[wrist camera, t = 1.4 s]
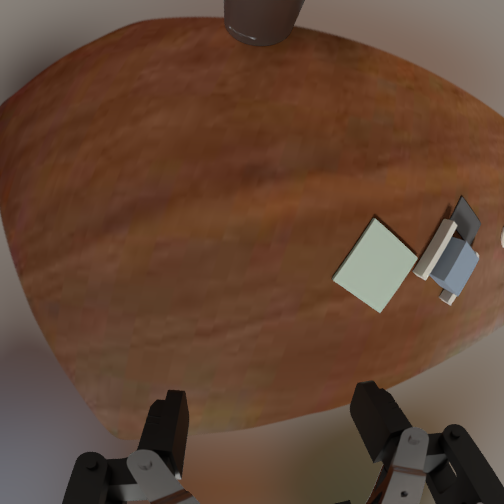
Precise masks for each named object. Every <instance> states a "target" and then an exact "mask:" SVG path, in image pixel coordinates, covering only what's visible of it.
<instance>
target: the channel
mask: <svg viewBox="0 0 504 504" xmlns="http://www.w3.org/2000/svg"><path fill="white" fill-rule="evenodd" d="M480 225H481V223H480V221H479V220H478V218H477V217H476V215H475V214H474V212H473V211H472V209H471V208H470V207H469V205H468V204H467V202H466V201H465V200H464V198H463V197H462V196H461V198H460V200H459V202H458V204H457V206H456V208H455V210H454V212H453V214H452V216H451V218H450V219H449V220H448V219H443V221H442V223H441V225H440V227H439V228H438V230H437V232H436V234H435V236H434V237H433V239H432V241H431V242H430V244H429V246H428V247H427V249H426V251H425V252H424V254H423V256H422V257H421V259H420V261H419V262H418V264H417V265H416V267H415V268H414V270H413V271H412V272H413V273H415V274H416V275H417V276H418V277H420V278H422V279H424V280H426V279H427V278H428V276H429V275H430V273H431V271H432V270H433V268H434V266H435V265H436V263H437V262H438V260H439V258H440V256H441V255H442V253H443V251H444V250H445V248H446V246H447V244H448V242H449V241H450V239H451V237H452V235H453V233H454V231H455V230H457V232H458V233H459V234H460V235H461V237H462V238H463V239H464V241H467V243H468V244H469V245H471V243H472V241H473V239H474V237H475V235H476V233H477V231H478V229H479V227H480ZM474 252H475V251H474ZM475 254H476V255H477V257H478V258H479V255H478V253H477V252H475ZM439 298H440V299H441V300H442V301H444V302H445V303H447V304H449V305H450V306H451V304H452V302H453V301H454V299H455V298H456V295H455V294H453V293H451V292H449V291H448V290H446V289H444V290H443V292H442V293H441V295H440V296H439Z"/></svg>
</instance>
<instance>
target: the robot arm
mask: <svg viewBox="0 0 504 504" xmlns="http://www.w3.org/2000/svg"><path fill="white" fill-rule="evenodd" d="M304 1H305V0H224V22H225V27H226V29H227V31H228V32H229V34H231V35H232V36H233V37H234V38H235V39H237V40H238V41H241V42H243V43H245V44H249V45H254V46H268V45H273V44H276V43H279V42H281V41H283V40H284V39H286V38H287V37H288V36H289V34H290V33H291V31H292V29H293V26H294V24H295V21H296V19H297V17H298V15H299V12H300V10H301V8H302V5H303V3H304ZM350 413H351V416H352V418H353V421H354V423H355V425H356V427H357V429H358V431H359V433H360V435H361V438H362V440H363V442H364V444H365V446H366V448H367V450H368V453H369V455H370V457H371V459H372V461H373V463H376V462H379V461H382V462H383V466H382V468H381V470H380V473H379V475H378V478H377V480H376V483H375V486H374V488H373V490H372V492H371V495H370V497H369V498H368V500H367V502H366V503H365V504H419V502H420V499H421V496H422V492H423V488H424V484H425V481H426V483H427V485H428V488H429V490H430V492H431V494H432V496H433V498H434V500H435V503H436V504H504V487H503V485H502V484H501V482H500V481H499V479H498V477H497V476H496V474H495V472H494V471H493V469H492V468H491V466H490V465H489V463H488V462H487V460H486V459H485V457H484V456H483V454H482V453H481V451H480V450H479V448H478V447H477V445H476V444H475V443H474V441H473V440H472V438H471V437H470V435H469V434H468V432H467V431H466V430H465V429H464V428H463V427H462V426H460V425H457V424H452V425H449V426H447V427H446V428H445V429H444V431H443V432H442V433H435V434H427V433H426V432H425V431H424V430H422V429H420V428H417V427H412V425H411V424H410V422H409V421H408V419H407V418H406V416H405V415H404V413H403V412H402V410H401V409H400V408H399V406H398V404H397V403H396V402H395V400H394V398H393V397H392V395H391V394H390V393H388V392H387V391H386V390H384V389H383V388H382V389H379V388H378V386H377V385H376V383H375V382H374V381H366V382H360V383H358V384H357V385H356V388H355V392H354V395H353V398H352V401H351V404H350ZM188 427H189V411H188V405H187V399H186V393H185V391H179V390H168V392H167V396H166V399H165V400H158V399H157V400H156V401H155V402H154V403H153V404H152V405H151V406H150V410H149V413H148V417H147V419H146V423H145V426H144V429H143V432H142V436H141V439H140V442H139V446H138V449H137V450H136V451H135V452H133V453H131V455H129V457H127V458H122V459H105V458H104V457H103V456H102V455H101V454H99V453H96V452H86V453H83V454H81V455H80V456H79V457H78V458H77V460H76V463H75V465H74V468H73V471H72V474H71V477H70V480H69V483H68V486H67V489H66V492H65V496H64V499H63V502H62V504H127V501H137V500H149V502H150V503H151V504H200V503H199V502H198V501H197V500H196V499H195V497H194V496H193V495H192V494H191V493H190V492H188V491H186V490H185V489H184V488H183V487H182V486H181V484H180V483H179V482H178V481H177V479H182V472H183V464H184V456H185V448H186V441H187V434H188ZM449 462H450V463H451V465H452V467H453V468H454V470H455V472H456V475H457V477H456V475H455V473H454V472H453V470H452V468H451V466H450V465H449ZM335 504H351V503H350V500H348V501H344V502H340V503H335Z"/></svg>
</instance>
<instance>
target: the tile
mask: <svg viewBox="0 0 504 504" xmlns="http://www.w3.org/2000/svg"><path fill="white" fill-rule="evenodd" d="M417 259H418V258H417V257H416V256H415V255H414V254H413V253H412V252H411V251H410V250H409V249H408V248H407V247H406V246H405V245H404V244H403V243H402V242H401V241H400V240H399V239H397V238H396V237H395V236H394V235H393V234H392V233H391V232H390V231H389V230H388V229H387V228H385V227H384V226H383V225H382V224H381V223H380V222H379V221H378V220H376V219H375V218H373V219H372V221H371V222H370V224H369V225H368V227H367V228H366V230H365V231H364V233H363V234H362V236H361V237H360V239H359V240H358V242H357V243H356V245H355V246H354V248H353V249H352V251H351V252H350V253H349V255H348V256H347V258H346V259H345V261H344V262H343V263H342V265H341V266H340V268H339V269H338V270H337V272H336V273H335V275H334V276H333V277H332V280H333V281H335V282H336V283H338V284H339V285H341V286H342V287H343V288H345V289H346V290H348V291H349V292H351V293H352V294H354V295H355V296H356V297H358V298H359V299H361V300H362V301H363V302H365V303H366V304H368V305H369V306H371V307H372V308H373V309H375V310H376V311H378V312H379V313H380V312H381V311H382V310H383V308H384V307H385V306H386V304H387V303H388V302H389V300H390V299H391V297H392V296H393V295H394V293H395V292H396V290H397V289H398V288H399V286H400V285H401V283H402V282H403V280H404V279H405V277H406V276H407V274H408V273H409V271H410V270H411V268H412V267H413V265H414V263H415V262H416V260H417Z"/></svg>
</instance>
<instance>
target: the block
mask: <svg viewBox="0 0 504 504" xmlns="http://www.w3.org/2000/svg"><path fill="white" fill-rule="evenodd" d="M478 260H479V258H478V257H477V255H476V254H475V252H474V251H473V250H472V248H471V247H470V245H469V244H468V243H467V241H464V240H461V239H457V238H454V237H451V239H450V241H449V242H448V244H447V246H446V248H445V250H444V251H443V253H442V255H441V256H440V258H439V260H438V262H437V263H436V265H435V266H434V268H433V270H432V271H431V273H430V276H431V277H432V278H433V279H434V280H435V281H436V282H437V283H438V284H439V285H440V286H441V287H442V288H444V289H446V290H448V291H449V292H451V293H453V294H455V295H456V296H459V294H460V292H461V291H462V289H463V287H464V286H465V284H466V282H467V281H468V279H469V277H470V275H471V273H472V272H473V270H474V268H475V266H476V264H477V262H478Z"/></svg>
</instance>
